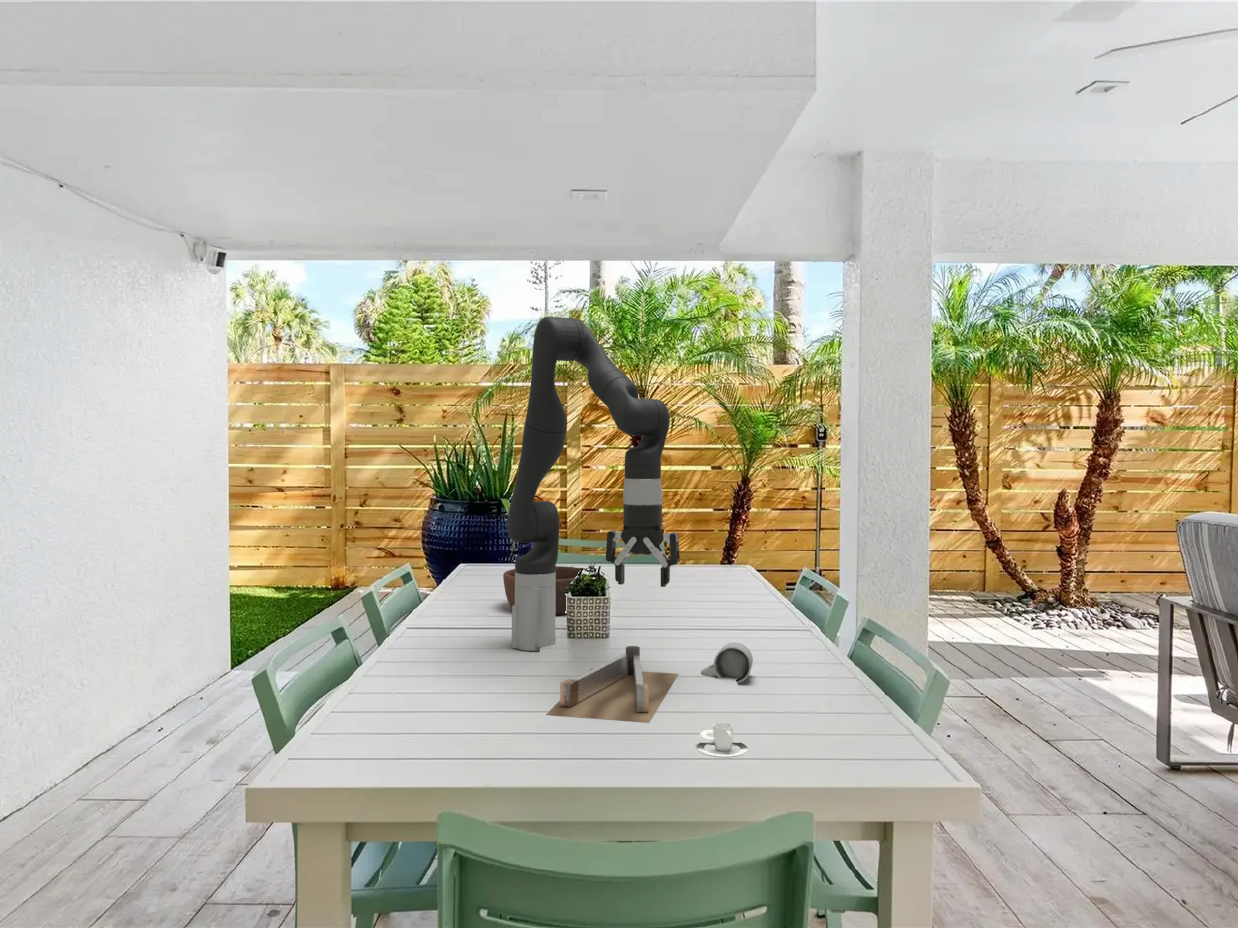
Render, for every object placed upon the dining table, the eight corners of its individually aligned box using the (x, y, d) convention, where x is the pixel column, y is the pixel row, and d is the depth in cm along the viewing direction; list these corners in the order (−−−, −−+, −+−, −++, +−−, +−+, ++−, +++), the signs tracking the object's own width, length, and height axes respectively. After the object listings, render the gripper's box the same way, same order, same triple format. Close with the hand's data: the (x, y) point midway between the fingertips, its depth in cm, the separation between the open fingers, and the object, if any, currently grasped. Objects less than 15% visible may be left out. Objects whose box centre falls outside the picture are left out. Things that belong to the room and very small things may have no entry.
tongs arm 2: (633, 674, 185) (633, 654, 184) (643, 674, 185) (643, 654, 184) (636, 711, 161) (637, 688, 160) (648, 711, 161) (648, 688, 160)
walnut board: (545, 720, 159) (545, 684, 159) (591, 672, 190) (591, 642, 190) (649, 728, 155) (649, 691, 155) (678, 678, 187) (678, 647, 186)
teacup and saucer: (695, 740, 151) (695, 715, 151) (744, 741, 151) (744, 716, 151) (698, 759, 142) (698, 732, 142) (750, 760, 142) (750, 733, 142)
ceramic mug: (753, 675, 190) (753, 638, 189) (751, 685, 182) (750, 647, 182) (703, 673, 192) (703, 637, 191) (698, 683, 184) (698, 645, 184)
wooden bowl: (611, 607, 262) (611, 570, 261) (558, 622, 241) (558, 582, 240) (540, 597, 275) (540, 563, 275) (484, 611, 254) (484, 574, 254)
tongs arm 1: (618, 673, 186) (618, 653, 185) (627, 674, 185) (628, 654, 185) (560, 705, 164) (560, 682, 164) (570, 706, 163) (570, 684, 163)
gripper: (601, 502, 179) (601, 586, 180) (674, 504, 175) (673, 590, 176) (613, 499, 186) (613, 580, 187) (682, 501, 182) (682, 584, 183)
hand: (642, 585), depth 181 cm, fingers open, 8 cm apart
